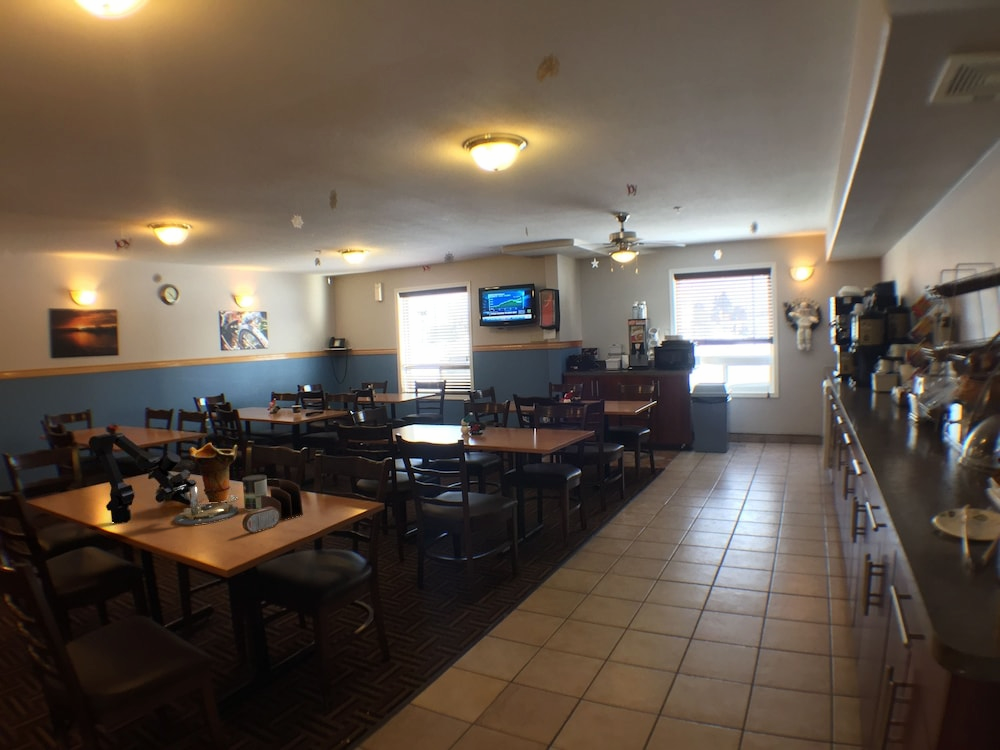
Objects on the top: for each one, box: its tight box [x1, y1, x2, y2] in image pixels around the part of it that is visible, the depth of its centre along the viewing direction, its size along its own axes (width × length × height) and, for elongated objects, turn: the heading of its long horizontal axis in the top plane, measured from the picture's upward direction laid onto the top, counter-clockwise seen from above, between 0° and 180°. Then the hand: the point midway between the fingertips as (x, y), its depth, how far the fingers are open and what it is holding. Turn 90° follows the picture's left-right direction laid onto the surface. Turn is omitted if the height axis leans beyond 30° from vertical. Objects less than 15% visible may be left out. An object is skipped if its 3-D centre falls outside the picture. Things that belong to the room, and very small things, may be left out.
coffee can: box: [242, 474, 269, 511], centre depth 270 cm, size 10×10×14 cm
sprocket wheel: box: [179, 485, 234, 520], centre depth 259 cm, size 21×21×13 cm
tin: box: [242, 507, 280, 534], centre depth 237 cm, size 15×3×8 cm, turn 141°
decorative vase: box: [189, 442, 238, 503], centre depth 285 cm, size 21×23×28 cm
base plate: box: [174, 505, 239, 526], centre depth 260 cm, size 25×25×2 cm
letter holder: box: [261, 479, 304, 521], centre depth 257 cm, size 10×20×14 cm, turn 44°
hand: (189, 504), depth 251 cm, fingers closed
